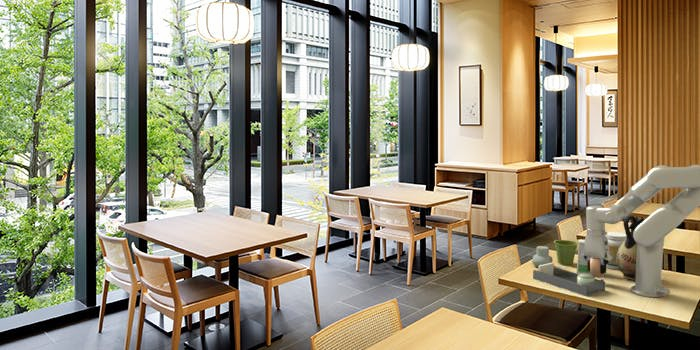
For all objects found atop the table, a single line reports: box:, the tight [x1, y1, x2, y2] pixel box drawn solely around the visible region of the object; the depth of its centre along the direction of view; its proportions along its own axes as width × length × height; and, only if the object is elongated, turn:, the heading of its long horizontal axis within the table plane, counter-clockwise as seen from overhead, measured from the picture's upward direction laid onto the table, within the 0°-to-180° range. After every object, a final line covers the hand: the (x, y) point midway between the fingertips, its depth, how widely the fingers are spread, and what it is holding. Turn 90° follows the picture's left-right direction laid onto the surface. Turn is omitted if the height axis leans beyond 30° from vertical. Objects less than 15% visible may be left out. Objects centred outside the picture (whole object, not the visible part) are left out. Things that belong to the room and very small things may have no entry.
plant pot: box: [553, 239, 579, 266], centre depth 260 cm, size 12×12×11 cm
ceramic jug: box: [616, 214, 645, 281], centre depth 234 cm, size 17×15×30 cm
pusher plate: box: [537, 262, 555, 275], centre depth 239 cm, size 5×10×6 cm, turn 120°
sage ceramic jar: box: [577, 273, 596, 286], centre depth 220 cm, size 7×7×7 cm
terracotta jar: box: [590, 257, 605, 279], centre depth 229 cm, size 6×6×9 cm
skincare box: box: [576, 239, 590, 274], centre depth 244 cm, size 8×7×16 cm
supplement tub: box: [605, 231, 627, 271], centre depth 252 cm, size 12×12×17 cm
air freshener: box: [531, 245, 554, 267], centre depth 255 cm, size 11×8×10 cm
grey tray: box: [532, 266, 606, 297], centre depth 227 cm, size 28×13×5 cm, turn 30°
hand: (596, 271), depth 229 cm, fingers closed on terracotta jar, 5 cm apart
